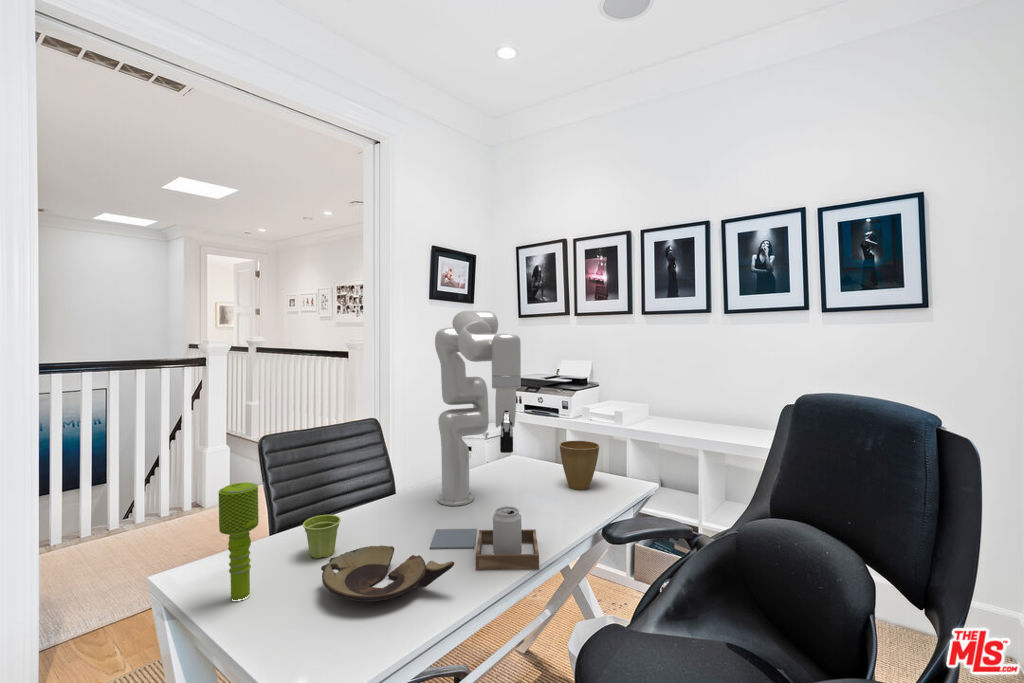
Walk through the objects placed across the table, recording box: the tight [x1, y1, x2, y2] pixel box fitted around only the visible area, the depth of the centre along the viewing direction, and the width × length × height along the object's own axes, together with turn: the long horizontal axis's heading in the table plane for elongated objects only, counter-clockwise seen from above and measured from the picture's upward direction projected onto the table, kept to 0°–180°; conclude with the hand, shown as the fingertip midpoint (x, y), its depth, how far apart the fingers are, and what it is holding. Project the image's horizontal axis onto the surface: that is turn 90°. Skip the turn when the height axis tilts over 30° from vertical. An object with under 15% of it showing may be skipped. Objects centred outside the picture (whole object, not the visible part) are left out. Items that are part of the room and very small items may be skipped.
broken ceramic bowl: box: [320, 545, 455, 602], centre depth 110 cm, size 22×30×8 cm
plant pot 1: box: [302, 514, 342, 559], centre depth 129 cm, size 9×9×9 cm
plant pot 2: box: [559, 440, 600, 491], centre depth 182 cm, size 15×15×16 cm
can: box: [492, 505, 523, 554], centre depth 127 cm, size 8×8×12 cm
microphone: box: [218, 482, 259, 600], centre depth 108 cm, size 8×8×25 cm
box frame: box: [475, 528, 540, 571], centre depth 127 cm, size 16×16×4 cm
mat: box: [429, 528, 478, 550], centre depth 137 cm, size 12×12×1 cm
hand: (506, 447), depth 127 cm, fingers open, 9 cm apart
